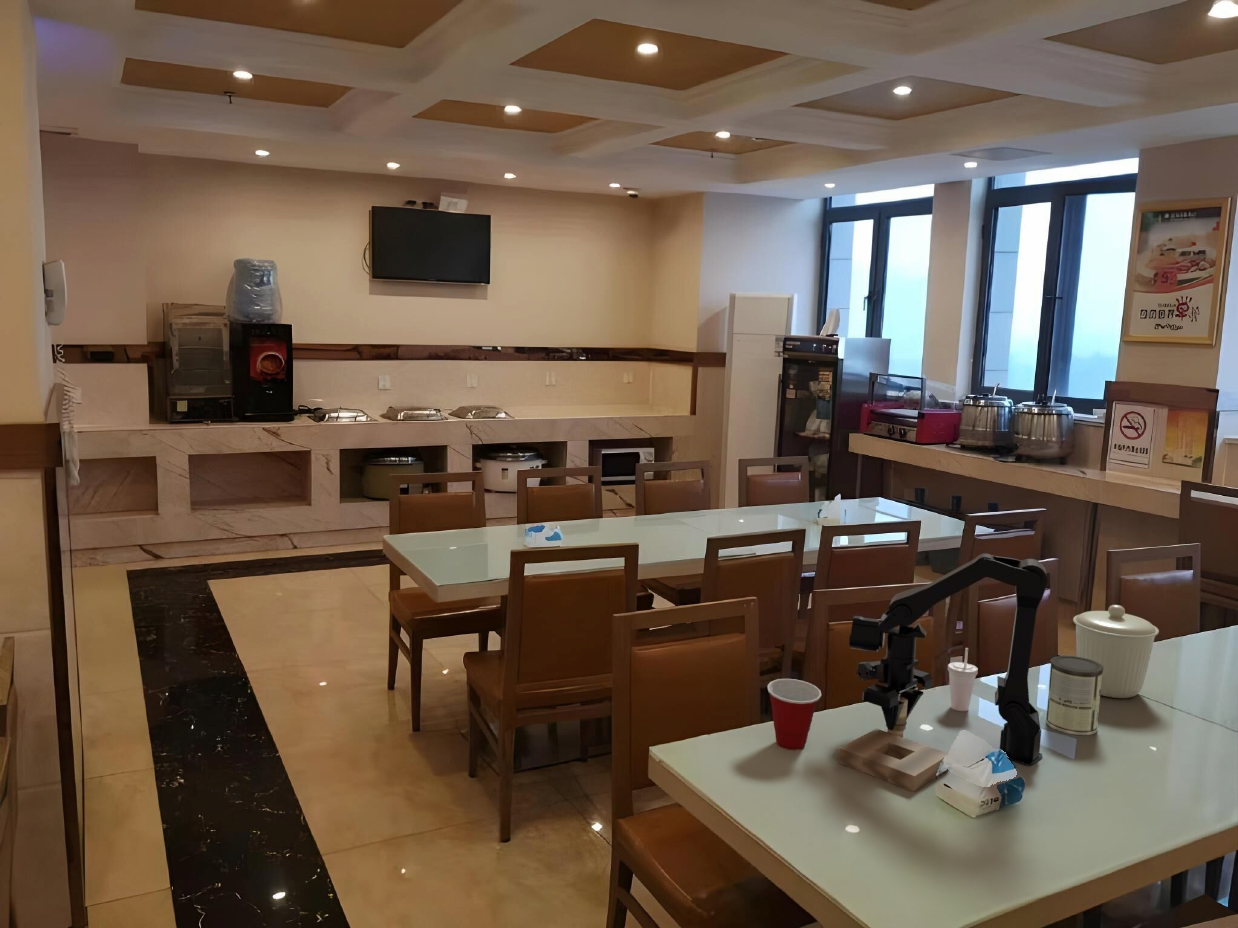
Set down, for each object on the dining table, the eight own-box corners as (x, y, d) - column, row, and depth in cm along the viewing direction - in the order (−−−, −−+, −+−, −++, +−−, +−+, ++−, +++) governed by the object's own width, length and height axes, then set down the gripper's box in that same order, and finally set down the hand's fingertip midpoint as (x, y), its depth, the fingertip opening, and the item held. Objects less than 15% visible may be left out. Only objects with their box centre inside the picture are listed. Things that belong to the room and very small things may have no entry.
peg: (909, 736, 201) (911, 699, 199) (899, 741, 198) (901, 704, 197) (891, 729, 204) (893, 693, 202) (880, 735, 201) (883, 698, 199)
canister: (1073, 699, 224) (1081, 611, 221) (1062, 673, 241) (1069, 591, 238) (1160, 709, 219) (1169, 620, 216) (1142, 682, 236) (1150, 599, 233)
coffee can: (1038, 715, 214) (1043, 654, 212) (1086, 717, 213) (1092, 656, 211) (1054, 733, 204) (1060, 670, 202) (1105, 737, 203) (1111, 672, 201)
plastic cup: (787, 760, 188) (790, 701, 186) (753, 739, 197) (756, 683, 195) (830, 749, 193) (833, 692, 191) (795, 729, 202) (797, 675, 201)
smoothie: (978, 714, 213) (983, 653, 212) (949, 713, 214) (954, 652, 212) (969, 702, 220) (973, 643, 218) (940, 702, 220) (945, 643, 218)
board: (949, 768, 186) (950, 753, 185) (913, 791, 176) (914, 775, 176) (875, 742, 197) (876, 728, 197) (838, 762, 187) (839, 747, 187)
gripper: (888, 635, 210) (884, 704, 212) (842, 654, 197) (837, 726, 199) (936, 648, 203) (931, 719, 205) (890, 668, 189) (886, 743, 192)
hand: (895, 726), depth 200 cm, fingers closed on peg, 4 cm apart
